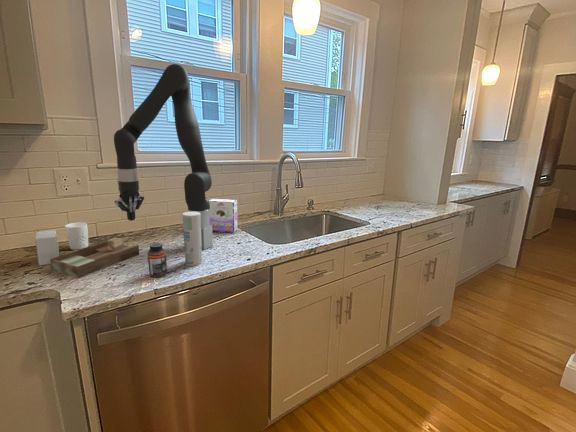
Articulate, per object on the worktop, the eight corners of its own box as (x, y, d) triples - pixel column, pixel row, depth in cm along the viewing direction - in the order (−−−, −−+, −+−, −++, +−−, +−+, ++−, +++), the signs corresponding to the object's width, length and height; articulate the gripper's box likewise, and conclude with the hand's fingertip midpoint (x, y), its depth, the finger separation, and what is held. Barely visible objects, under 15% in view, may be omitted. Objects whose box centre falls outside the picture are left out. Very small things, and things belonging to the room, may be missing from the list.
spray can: (205, 263, 124) (203, 213, 119) (190, 267, 119) (187, 216, 114) (197, 258, 128) (194, 210, 123) (182, 262, 124) (179, 213, 119)
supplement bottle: (152, 270, 116) (150, 241, 113) (169, 270, 116) (167, 241, 113) (146, 278, 110) (144, 247, 107) (164, 277, 110) (162, 247, 108)
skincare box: (60, 262, 120) (56, 236, 118) (38, 266, 117) (34, 239, 114) (60, 253, 128) (56, 229, 126) (40, 257, 125) (35, 231, 122)
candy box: (237, 230, 167) (237, 199, 163) (234, 233, 162) (233, 201, 158) (213, 228, 170) (212, 197, 165) (208, 231, 164) (207, 200, 160)
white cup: (94, 245, 139) (91, 223, 136) (77, 251, 132) (74, 228, 129) (81, 242, 141) (78, 221, 139) (63, 248, 134) (60, 226, 132)
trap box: (139, 254, 130) (138, 245, 129) (78, 278, 108) (76, 267, 107) (114, 248, 136) (113, 239, 135) (51, 269, 114) (50, 259, 113)
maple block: (124, 248, 130) (123, 239, 129) (115, 251, 126) (114, 242, 125) (117, 246, 131) (116, 237, 130) (108, 249, 128) (107, 240, 127)
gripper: (120, 182, 122) (124, 225, 127) (148, 178, 134) (150, 218, 138) (107, 180, 125) (111, 222, 130) (135, 176, 137) (138, 215, 141)
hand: (131, 220), depth 134 cm, fingers closed
